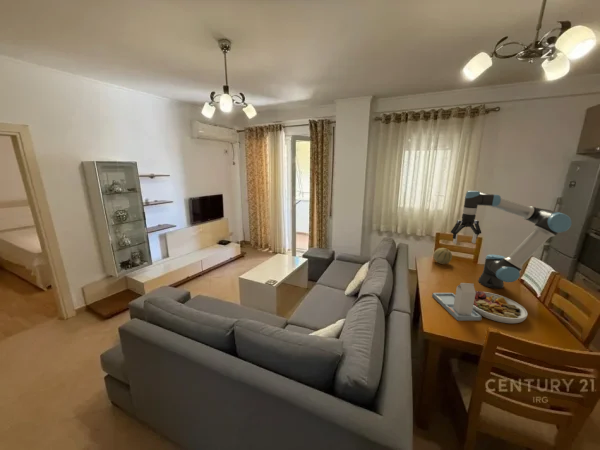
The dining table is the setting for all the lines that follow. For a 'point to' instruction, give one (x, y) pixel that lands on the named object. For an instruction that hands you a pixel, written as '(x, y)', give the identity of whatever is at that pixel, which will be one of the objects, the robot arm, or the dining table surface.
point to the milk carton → (464, 298)
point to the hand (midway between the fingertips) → (464, 243)
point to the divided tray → (448, 304)
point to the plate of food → (498, 308)
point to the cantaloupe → (442, 255)
